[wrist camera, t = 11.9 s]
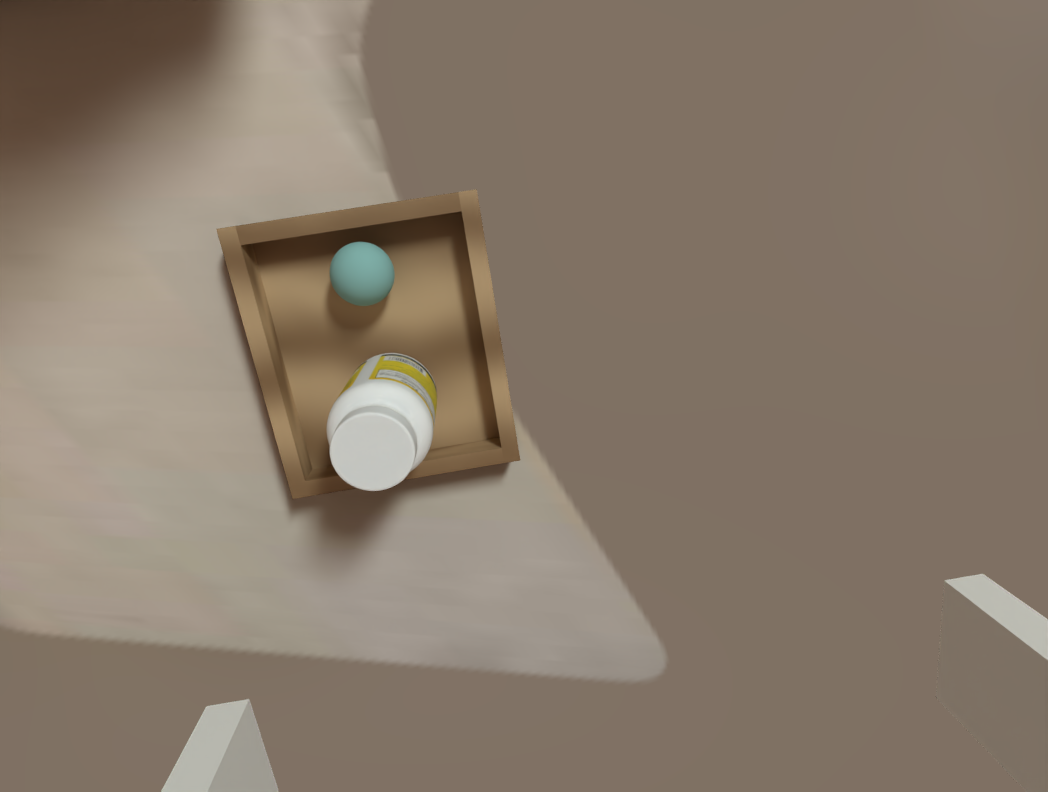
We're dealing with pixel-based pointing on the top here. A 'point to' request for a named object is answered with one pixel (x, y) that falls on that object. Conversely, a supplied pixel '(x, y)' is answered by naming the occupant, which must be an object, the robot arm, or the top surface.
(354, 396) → the supplement bottle
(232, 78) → the top surface
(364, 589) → the top surface
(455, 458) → the tray
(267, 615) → the top surface
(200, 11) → the top surface
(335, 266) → the ball
